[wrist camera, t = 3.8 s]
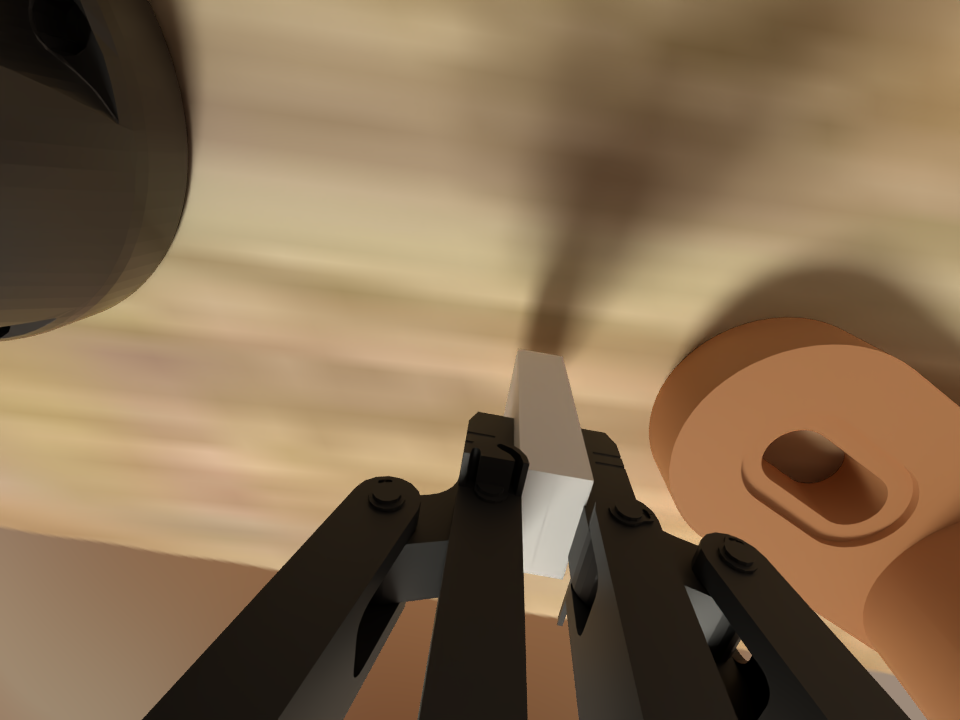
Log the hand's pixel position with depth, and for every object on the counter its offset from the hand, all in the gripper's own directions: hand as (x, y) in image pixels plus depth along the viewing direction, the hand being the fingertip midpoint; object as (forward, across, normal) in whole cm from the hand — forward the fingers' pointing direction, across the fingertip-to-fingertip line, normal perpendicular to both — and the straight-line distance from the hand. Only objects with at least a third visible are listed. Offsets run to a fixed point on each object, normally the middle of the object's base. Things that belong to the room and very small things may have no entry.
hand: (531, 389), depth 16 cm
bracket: (+2, +13, -3) cm, 14 cm away
